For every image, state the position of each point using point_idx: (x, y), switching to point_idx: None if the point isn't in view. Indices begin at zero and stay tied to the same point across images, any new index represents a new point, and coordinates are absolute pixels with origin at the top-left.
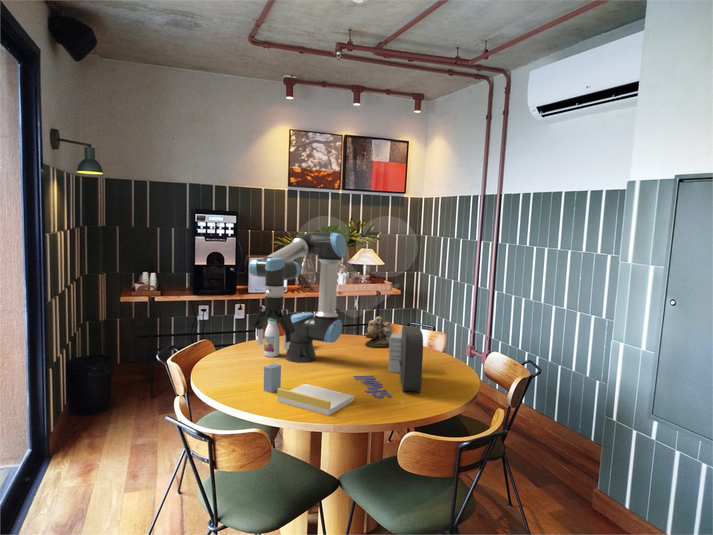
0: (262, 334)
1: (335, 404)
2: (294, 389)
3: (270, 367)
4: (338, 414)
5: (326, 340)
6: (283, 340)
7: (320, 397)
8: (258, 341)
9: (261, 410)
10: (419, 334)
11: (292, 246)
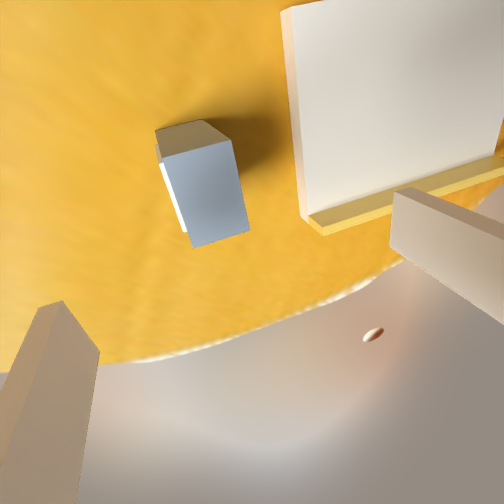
0: (32, 430)
1: (498, 111)
2: (309, 123)
3: (227, 224)
4: None
5: None
6: (471, 302)
7: (435, 102)
8: (89, 389)
9: (315, 283)
10: None
11: None
